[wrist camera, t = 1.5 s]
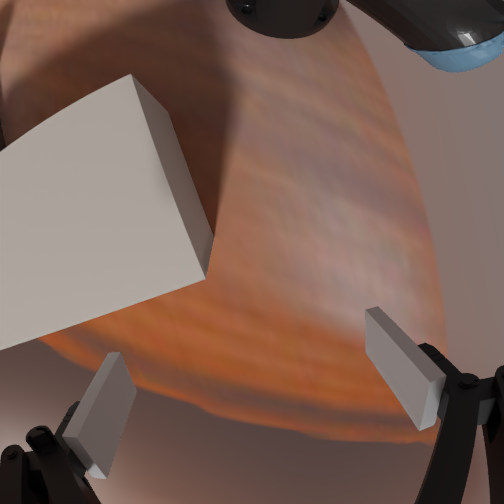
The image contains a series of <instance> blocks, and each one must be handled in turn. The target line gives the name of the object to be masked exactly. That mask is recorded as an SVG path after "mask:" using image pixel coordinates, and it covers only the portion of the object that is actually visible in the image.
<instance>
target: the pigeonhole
mask: <svg viewBox="0 0 504 504" xmlns="http://www.w3.org/2000/svg"><path fill="white" fill-rule="evenodd" d="M213 241H214V236H213V233H212V230H211V228H210V225H209V223H208V220H207V217H206V215H205V212H204V209H203V207H202V204H201V201H200V199H199V196H198V193H197V191H196V188H195V185H194V183H193V180H192V177H191V174H190V172H189V169H188V166H187V163H186V161H185V158H184V155H183V152H182V150H181V147H180V144H179V141H178V138H177V136H176V133H175V130H174V127H173V124H172V121H171V119H170V116H169V113H168V111H167V110H166V109H165V108H164V107H163V106H162V105H161V104H160V103H159V102H158V101H157V100H156V99H155V98H154V97H153V96H152V95H151V94H150V93H149V92H148V91H147V90H146V89H145V88H144V87H143V86H142V85H141V84H140V83H139V82H138V80H137V79H136V78H135V77H134V76H133V75H132V74H129V75H127V76H125V77H123V78H120V79H118V80H116V81H114V82H112V83H110V84H108V85H106V86H104V87H102V88H100V89H98V90H96V91H95V92H93V93H91V94H89V95H87V96H85V97H83V98H82V99H80V100H78V101H76V102H75V103H73V104H71V105H69V106H68V107H66V108H64V109H63V110H61V111H59V112H58V113H56V114H54V115H53V116H51V117H50V118H48V119H46V120H45V121H43V122H42V123H40V124H39V125H37V126H36V127H34V128H33V129H31V130H30V131H28V132H27V133H25V134H24V135H23V136H21V137H20V138H18V139H17V140H16V141H14V142H13V143H11V144H10V145H9V146H7V147H6V148H5V149H3V150H2V151H1V152H0V350H2V349H5V348H8V347H11V346H14V345H17V344H20V343H23V342H26V341H29V340H32V339H35V338H38V337H41V336H44V335H46V334H49V333H52V332H55V331H58V330H61V329H64V328H67V327H70V326H73V325H76V324H79V323H81V322H84V321H87V320H90V319H93V318H96V317H99V316H102V315H105V314H107V313H110V312H113V311H116V310H119V309H122V308H125V307H128V306H130V305H133V304H136V303H139V302H142V301H145V300H148V299H150V298H153V297H156V296H159V295H162V294H165V293H167V292H170V291H173V290H176V289H179V288H182V287H184V286H187V285H190V284H193V283H196V282H198V281H201V280H204V279H206V275H207V270H208V265H209V260H210V255H211V250H212V245H213Z"/></svg>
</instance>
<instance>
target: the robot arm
mask: <svg viewBox="0 0 504 504" xmlns="http://www.w3.org/2000/svg"><path fill="white" fill-rule="evenodd" d="M346 1H348V2H350V3H351V4H352V5H354V6H356V7H357V8H358V9H360V10H361V11H363V12H364V13H366V14H367V15H368V16H370V17H371V18H373V19H374V20H375V21H377V22H378V23H379V24H381V25H382V26H383V27H385V28H386V29H387V30H389V31H390V32H391V33H392V34H394V35H395V36H396V37H397V38H399V39H400V40H401V41H402V42H403V43H404V45H405V46H406V47H407V48H408V49H410V50H411V51H413V52H416V53H417V54H418V55H420V56H421V57H422V58H423V59H424V60H426V61H427V62H428V63H429V64H430V65H432V66H433V67H435V68H436V69H439V70H443V71H446V72H464V71H469V70H472V69H475V68H478V67H480V66H483V65H484V64H487V63H489V62H490V61H491V60H494V59H495V58H496V57H498V56H499V55H500V54H502V53H503V48H504V0H346ZM226 4H227V6H228V8H229V10H230V12H231V13H232V15H233V16H234V17H235V18H236V19H237V20H238V21H239V22H240V23H242V24H243V25H244V26H246V27H247V28H249V29H251V30H253V31H255V32H257V33H260V34H263V35H266V36H270V37H275V38H282V39H294V38H302V37H306V36H309V35H312V34H314V33H317V32H318V31H320V30H321V29H323V28H324V27H325V26H326V25H327V24H328V23H329V22H330V20H331V19H332V18H333V16H334V15H335V13H336V11H337V8H338V5H339V0H226ZM365 323H366V354H367V355H368V357H369V358H370V360H371V361H372V363H373V364H374V365H375V367H376V368H377V370H378V371H379V373H380V374H381V375H382V377H383V378H384V380H385V381H386V383H387V384H388V386H389V387H390V388H391V390H392V391H393V393H394V394H395V396H396V397H397V399H398V400H399V402H400V403H401V405H402V406H403V408H404V409H405V411H406V412H407V413H408V415H409V416H410V418H411V419H412V421H413V422H414V424H415V425H416V427H417V428H418V430H419V431H421V430H423V429H425V428H428V427H430V426H432V425H434V424H435V421H436V417H437V415H438V417H439V418H440V419H441V425H440V428H439V431H438V434H437V439H436V443H435V446H434V450H433V453H432V456H431V459H430V462H429V466H428V468H427V471H426V475H425V478H424V480H423V483H422V485H421V488H420V491H419V493H418V496H417V498H416V501H415V503H414V504H461V501H462V497H463V493H464V489H465V485H466V482H467V477H468V473H469V468H470V464H471V459H472V453H473V448H474V442H475V436H476V429H477V425H481V424H482V429H483V436H484V442H485V449H486V456H487V465H488V475H489V488H490V504H504V365H503V366H500V367H499V368H498V369H497V370H496V373H495V376H494V377H490V378H485V379H479V378H478V377H477V376H475V375H474V374H470V373H461V372H460V371H459V370H458V369H457V368H456V367H455V366H454V365H452V363H451V362H450V361H449V360H448V359H447V358H446V359H445V357H444V356H443V355H442V354H440V352H439V351H438V350H437V349H436V348H435V347H434V346H432V345H429V344H427V343H423V344H420V345H416V344H415V343H414V342H413V341H412V340H411V339H410V338H409V337H408V336H407V335H406V334H405V333H404V332H403V330H402V329H401V328H400V327H399V326H398V325H396V324H395V323H394V322H393V321H392V320H391V319H390V318H389V317H388V316H387V315H386V314H385V313H384V312H383V311H382V310H381V309H380V308H379V307H374V308H370V309H366V310H365ZM136 393H137V390H136V388H135V385H134V383H133V381H132V379H131V376H130V374H129V372H128V369H127V367H126V364H125V362H124V359H123V357H122V354H121V352H113V353H108V354H107V356H106V358H105V359H104V361H103V363H102V365H101V366H100V368H99V370H98V371H97V373H96V375H95V377H94V378H93V380H92V382H91V384H90V385H89V387H88V389H87V391H86V393H85V394H84V396H83V398H82V400H81V401H78V402H77V401H76V402H75V403H74V404H73V405H72V406H71V407H70V408H69V409H68V412H67V413H66V416H65V417H64V418H63V422H61V424H60V426H59V427H58V429H57V431H56V433H55V435H53V434H52V432H51V430H50V429H49V428H48V427H47V426H37V427H34V428H33V429H31V430H30V431H29V432H28V433H27V435H26V442H27V443H28V444H29V446H30V447H31V448H32V450H33V451H30V452H24V450H23V449H22V448H21V447H20V446H19V445H11V446H8V447H7V448H5V449H4V451H3V452H2V455H1V460H0V504H101V503H100V501H99V499H98V498H97V496H96V494H95V492H94V491H93V489H92V487H91V486H90V484H89V482H88V480H87V479H86V478H85V476H84V475H85V472H86V470H87V471H88V472H89V473H90V475H91V476H92V477H93V478H101V479H107V478H108V475H109V472H110V468H111V465H112V462H113V458H114V456H115V453H116V450H117V447H118V444H119V441H120V438H121V435H122V432H123V429H124V426H125V424H126V421H127V418H128V415H129V412H130V409H131V407H132V404H133V401H134V398H135V396H136Z"/></svg>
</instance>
